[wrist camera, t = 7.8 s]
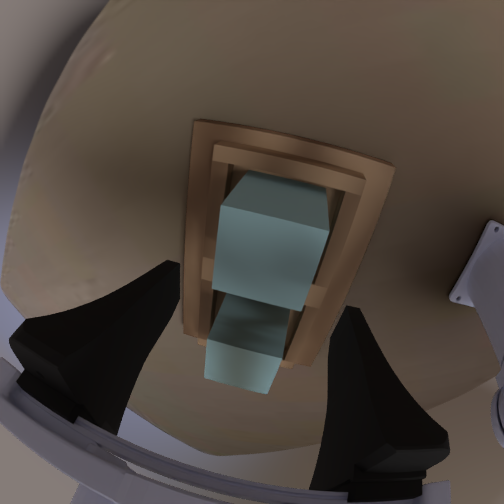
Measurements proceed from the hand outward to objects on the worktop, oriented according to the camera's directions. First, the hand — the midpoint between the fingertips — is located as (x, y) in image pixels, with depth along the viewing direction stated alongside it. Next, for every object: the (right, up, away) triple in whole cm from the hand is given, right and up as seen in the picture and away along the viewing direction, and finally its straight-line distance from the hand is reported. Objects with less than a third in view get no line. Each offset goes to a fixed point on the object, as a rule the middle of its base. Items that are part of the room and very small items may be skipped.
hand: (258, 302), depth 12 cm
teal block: (+2, +5, +7) cm, 9 cm away
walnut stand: (+1, +1, +11) cm, 11 cm away
